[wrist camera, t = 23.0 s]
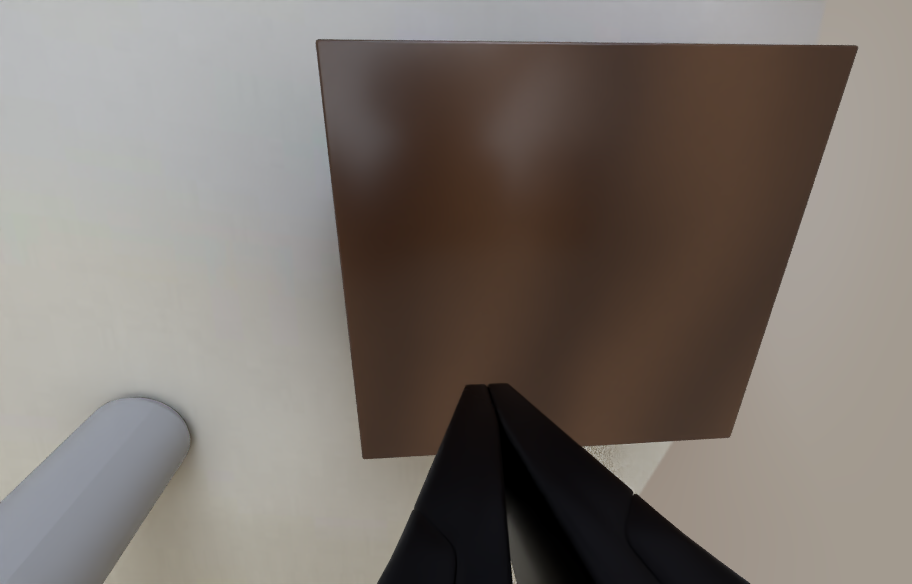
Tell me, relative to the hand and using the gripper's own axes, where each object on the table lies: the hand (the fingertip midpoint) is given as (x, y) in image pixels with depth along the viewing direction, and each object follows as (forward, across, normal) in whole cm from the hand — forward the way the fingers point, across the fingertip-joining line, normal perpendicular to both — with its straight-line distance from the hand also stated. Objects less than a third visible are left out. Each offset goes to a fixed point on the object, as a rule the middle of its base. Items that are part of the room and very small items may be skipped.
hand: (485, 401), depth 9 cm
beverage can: (+13, +16, +10) cm, 23 cm away
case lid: (+6, -4, 0) cm, 7 cm away
